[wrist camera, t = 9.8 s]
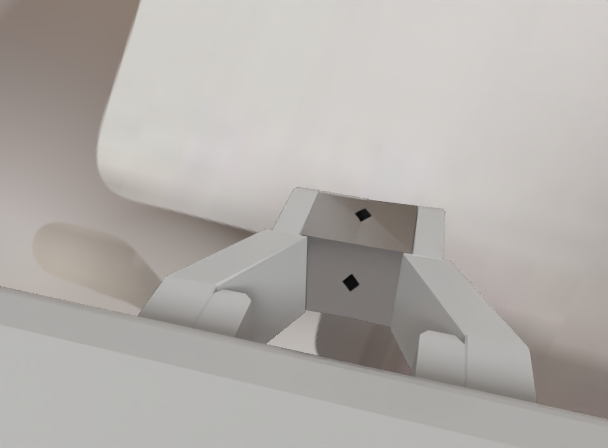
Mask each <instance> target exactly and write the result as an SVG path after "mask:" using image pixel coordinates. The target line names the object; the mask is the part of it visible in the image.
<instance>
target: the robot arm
mask: <svg viewBox="0 0 608 448" xmlns="http://www.w3.org/2000/svg"><path fill="white" fill-rule="evenodd" d="M445 213H446V211H445V210H444V209H440V208H432V207H423V206H414V205H406V204H398V203H390V202H382V201H375V200H369V199H366V198H360V197H354V196H349V195H343V194H337V193H331V192H326V191H319V190H315V189H307V188H300V187H297V188H295V189H293V191H292V193H291V195H290V197H289V199H288V201H287V202H286V204H285V206H284V208H283V210H282V212H281V214H280V216H279V218H278V220H277V221H276V223H275V225H274V227H273V229H272V230H267V229H265V230H262V231H260V232H258V233H256V234H254V235H252V236H250V237H248V238H246V239H244V240H241V241H239V242H237V243H235V244H233V245H231V246H229V247H227V248H225V249H223V250H220V251H218V252H216V253H214V254H212V255H210V256H208V257H206V258H204V259H201V260H199V261H197V262H195V263H193V264H191V265H189V266H187V267H184V268H182V269H180V270H178V271H176V272H174V273H172V274H170V275H168V276H166V277H165V279H164V280H163V282H162V283H161V284H160V286H159V287H158V288H157V290H156V291H155V293H154V294H153V295H152V297H151V298H150V299H149V301H148V302H147V304H146V305H145V306H144V308H143V309H142V310H141V312H140V313H139V315H138V316H134V315H130V314H124V313H120V312H116V311H111V310H106V309H102V308H98V307H93V306H88V305H84V304H79V303H75V302H70V301H66V300H61V299H56V298H52V297H47V296H43V295H38V294H34V293H29V292H24V291H20V290H15V289H11V288H6V287H2V286H0V448H608V419H605V418H601V417H596V416H592V415H587V414H582V413H578V412H573V411H569V410H564V409H560V408H555V407H551V406H546V405H541V404H537V400H536V393H535V385H534V378H533V371H532V364H531V357H530V350H529V348H528V347H527V346H526V345H525V343H524V342H523V341H522V340H521V339H520V338H519V337H518V336H517V334H516V333H515V332H514V331H513V330H512V329H511V328H510V327H509V325H508V324H507V323H506V322H505V321H504V320H503V319H502V318H501V317H500V315H499V314H498V313H497V312H496V311H495V310H494V309H493V308H492V306H491V305H490V304H489V303H488V302H487V301H486V300H485V299H484V297H483V296H482V295H481V294H480V293H479V292H478V291H477V290H476V288H475V287H474V286H473V285H472V284H471V283H470V282H469V281H468V279H467V278H466V277H465V276H464V275H463V274H462V273H461V272H460V271H459V269H458V268H457V267H456V266H455V265H454V264H453V263H452V262H451V261H448V260H444V237H445ZM305 310H309V311H315V312H321V313H326V314H332V315H338V316H344V317H349V318H353V319H358V320H362V321H366V322H371V323H375V324H380V325H384V326H388V327H390V330H391V332H392V334H393V336H394V338H395V340H396V342H397V344H398V346H399V348H400V350H401V352H402V354H403V356H404V358H405V360H406V362H407V364H408V366H409V368H410V370H411V375H410V376H409V375H405V374H400V373H396V372H391V371H386V370H382V369H377V368H373V367H368V366H363V365H359V364H354V363H350V362H345V361H340V360H336V359H331V358H327V357H322V356H317V355H313V354H308V353H303V352H299V351H294V350H290V349H285V348H280V347H276V346H271V345H267V344H266V343H267V342H269V341H270V340H271V339H272V338H274V337H275V336H276V335H277V334H279V333H280V332H281V331H282V330H284V329H285V328H286V327H287V326H289V325H290V324H291V323H292V322H294V321H295V320H296V319H297V318H299V317H300V316H301V315H302V314H303V313H305Z"/></svg>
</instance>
